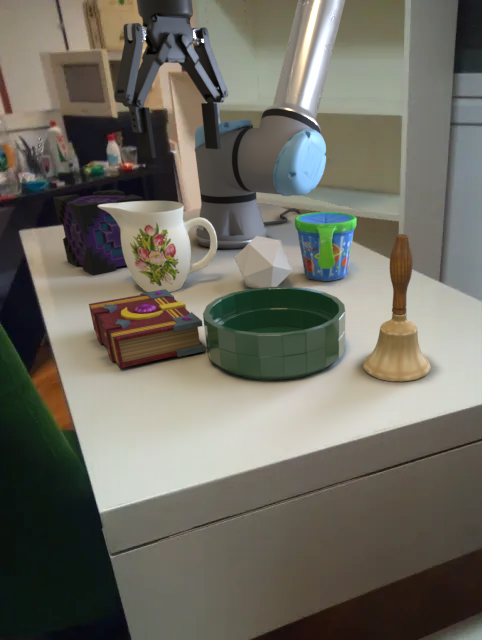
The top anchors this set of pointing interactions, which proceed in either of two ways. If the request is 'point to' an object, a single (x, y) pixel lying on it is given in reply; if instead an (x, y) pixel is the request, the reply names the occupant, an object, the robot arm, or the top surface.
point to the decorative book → (146, 328)
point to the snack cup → (325, 243)
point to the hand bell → (398, 327)
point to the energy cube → (92, 230)
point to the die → (263, 263)
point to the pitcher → (158, 242)
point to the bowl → (275, 332)
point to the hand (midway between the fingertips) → (182, 153)
